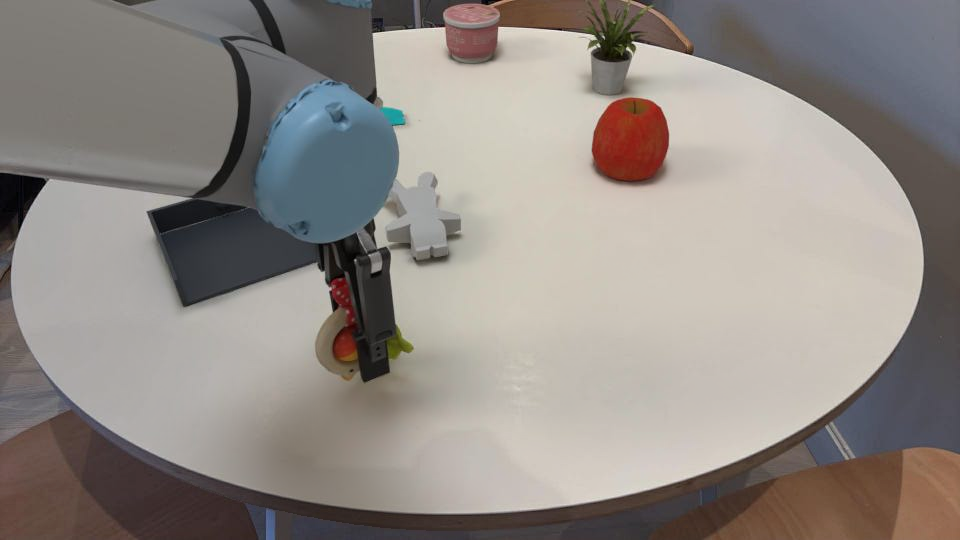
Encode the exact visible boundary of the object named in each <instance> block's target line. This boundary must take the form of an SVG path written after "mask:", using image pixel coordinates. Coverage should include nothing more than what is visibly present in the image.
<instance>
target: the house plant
mask: <svg viewBox="0 0 960 540" xmlns="http://www.w3.org/2000/svg"><path fill="white" fill-rule="evenodd" d="M584 1H585V2H586V3H587V4H588V6H589V7H590V9H591V10H592V12H591V11H587V10H578V13H589V14H590V15H592V16H593V18H595V19H596V21H597V23H598V25H599V27H600V29H601V31H602V34H603V36H602V34H600V32H599V29H598V27H597V26H596V24H595V23H594V21H593V20H592V19H591V18H590V17H589V16H587V15H583V14H582V15H581V14H580V15H579V14H578V15H577V16H578V17H580V16H581V17H585V18H586V19H588V20H589V21H590V23H591V24H592V25H587V26H585V27H583V28H582V31H585V32H586V34H588V35H592V36H594V37H595V39H593V40H592V39H590V38H588V40H589V42H588V44H587V49H586V51H588V50H589V49H591V48H593V47H594V48H593V49H592V50H591V51H590V68H591V69H590V70H591V85H592V90H593V92H595V93H597V94H600V95H605V96H614V95H617V94H620V93H622V91H623V88H624V86H625V82H626V79H627V76H628V72H629V69H630V66H631V63H632V59H633V56H635V54H636V50H637V46H636V44H634V43H633V42H634V41H636V40H638V39H639V38H641V37H645V35H644V34H648V32H646V31H641V30H631V28H632V27H633V26H634V25H635V24H636V23H637V22H638V20H642V19H645V17H643V16H644V15H645V14H646V12H647V11H648V10H650V9H651V8H654V7H655V6H657V5H658V3H655V4H654V3H653V4H651V5H648V6H646V7H644V8H642V9H641V11H639V12H638V13H637V14H635V16H634V17H633V18H631V20H629V22H628V23H627V25H626V26H625V27H624V25H625V22H626V20H627V17H628V14H629V11H630V6H631V0H628V1H627V3H626V6H625V8H624V9H623V14H622V12H619V8H620V5H621V3H622V0H619V2H618V4H617V7H616V11H615V15H614V20H613V21H612V19H611V16H610V12H609V10H608V6H607V5H608V4H607V2H606V0H598V2H599V4H600V7H601V11H602V14H603V17H604V21H605V22H604V23H605V26H604V24H603V22H602V20H601V19H600V17H599V15H598V14H597V11H596V10H595V8H594V6H593V4H592V3H591V2H590V1H589V0H584ZM618 12H619V13H618ZM621 14H622V16H621ZM620 17H621V19H619V18H620ZM630 30H631V31H630ZM635 34H636V35H635ZM579 38H581V39H582V38H584V39H587V37H586V36H578V39H579ZM598 45H599V46H598ZM595 47H596V48H595ZM628 49H629V50H630V51H629V50H628Z"/></svg>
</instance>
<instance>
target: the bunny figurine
mask: <svg viewBox="0 0 960 540" xmlns="http://www.w3.org/2000/svg"><path fill="white" fill-rule="evenodd" d="M438 184H439V181H438V178H437V176H436V174H435V173H434V172H432V171H424V172H422V173H420V175H419V176H418V179H417V185H416V186H411V187H408V188H405V187H404V186H403V184H402V183H401V182H400V180H398V179H396V178H395V180H394V182H393V187H392V189H391V190H390V192H389V196H388V198H390V199H391V200H392V201H394V202H395V203H396V204H395V205H396V210H397V216H398V218H397V219H395V220H393V221H392V222H390V223H388V224H386V225H385V235H386V240H387V242H388V243H398V244H399V243H400V244H410V250H411V251H410V252H411V256H412V257H413V258H415V259H416V261H420V260H427V259H430V258H431V256H433V257H434V258H438V257H443V256H448V255H449V251H448V249H449V247H448V242H447V241H448V240H447V236H449V235H452V234H454V233H458V232H460V231H461V230H462V217H461V213H458V212H453V211H447V210H444V209H440V208H438V207H437V205H438V204H437V192H436V189H437V186H438Z"/></svg>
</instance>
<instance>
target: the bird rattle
mask: <svg viewBox="0 0 960 540" xmlns="http://www.w3.org/2000/svg"><path fill="white" fill-rule="evenodd" d="M330 290H332V292H333V293H332V296H333V298H334V299H335V301H336V302H337V303H338V304H339V307H338V309H337V310H336V311H334V312H333V311H332V313H331V314H330V315H329V316H327V318H326V319H325V320H324V321H323V323H322V325H321V327H320V328H319V330H318V332H317V335H316V337H315V342H314V351H315V356H316V359H317V361H318V362H319V364H320V365H321V366H322V367H323V368H324V369H326V370H327V372H329V373H331V374H333V375H336V376H340V377H341V378H342V380H344V381H346V382H349V381H351V380H352V379H353V378H354V377H355V375H356V374H357V373H360V367H359V361H358V354H357V347H356V341H354V340H353V338H352V336H351V333H350V332H353V331H354V329H356V328H358V327H357V325H355V324H357V323H356V318H355V314H354V310H353V306H352V302H351V297H350V293H349V289H348V285H347V281H346V277H345V278H341V279H335V280H334V281H333V282H332V283H331V287H330ZM396 333H397V335H396V336H395V337H392V338H390V339H387V349H388V358H389V360H391V361H392V360H394V361H395V360H397V359H398V358H399V357H400V355H401V353H402V352H403V353H405V354H411V353H412V352H413V351H414V349H415V348H414V346H413V344H411V343H410V342H409V341H408V340H406V339H405V338H404V337H403V335H402V331H401V329H400V327H399V326H398V324H396Z"/></svg>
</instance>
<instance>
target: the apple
mask: <svg viewBox="0 0 960 540" xmlns="http://www.w3.org/2000/svg"><path fill="white" fill-rule="evenodd" d="M669 146H670V131H669V126H668V121H667V118H666V116H665V114H664V111H663V109H662V107H660V106H659V105H658V104H657V103H655V102H654V101H653V100H651V99H647V98H641V97H631V96H630V97H623V98H619V99H616V100H614V101H612V102H611V103H610V104H609V105H608V106H607V107H606V108H605V110H604V111H603V113H602V114H601V115H600V117H599V118H598V120H597V123H596V126H595V128H594V130H593V135H592V143H591V154H592V158H593V161H594V163H595V164H596V166H597V168H598V169H599V170H600V171H601V172H603V173H604V174H605V175H606V176H607V177H609V178H612V179H615V180H618V181H627V182H628V181H629V182H634V181H641V180H646V179H648V178H651V177H653V176H654V175H655V174H656V173H658V171H659V170H660V168H661V167H662V166H663V164H664V162H665V159H666V158H667V153H668V151H669Z"/></svg>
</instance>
